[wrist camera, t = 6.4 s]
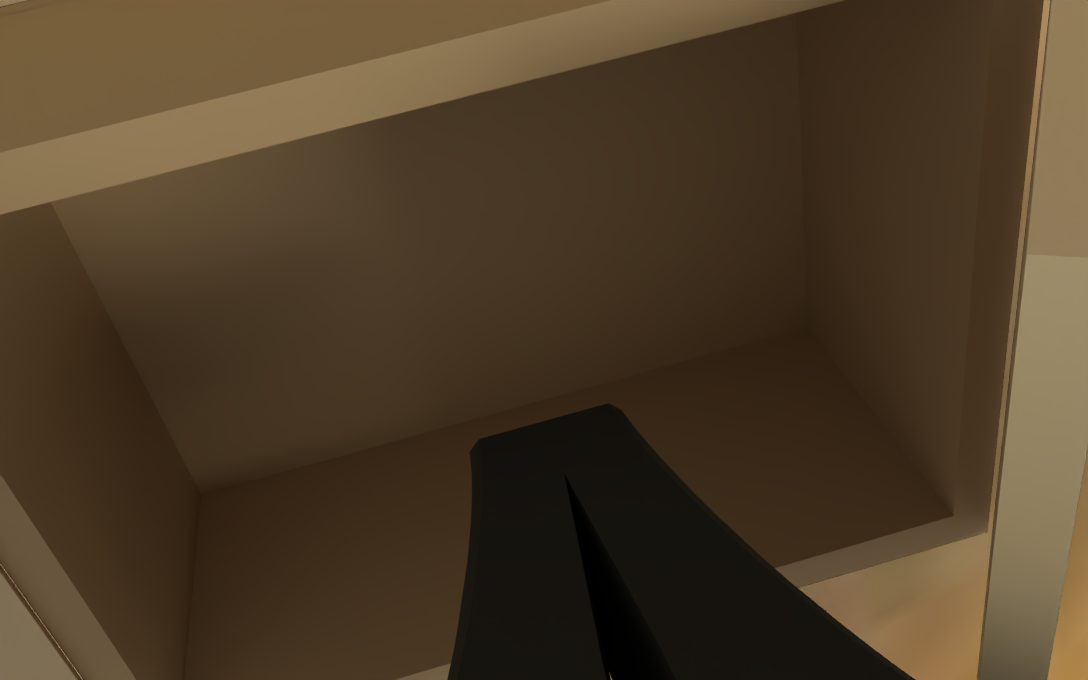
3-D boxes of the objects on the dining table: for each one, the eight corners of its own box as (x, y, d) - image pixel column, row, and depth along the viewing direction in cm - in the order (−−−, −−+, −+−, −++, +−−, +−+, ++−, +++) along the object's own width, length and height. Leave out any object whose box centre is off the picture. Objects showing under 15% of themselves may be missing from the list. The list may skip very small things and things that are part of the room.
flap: (1059, -90, 9) (1113, -93, 9) (992, 529, 13) (1026, 534, 13) (1026, 255, 5) (1120, 258, 5) (946, 965, 9) (994, 981, 9)
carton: (811, -187, 13) (1055, -112, 9) (823, 327, 18) (987, 532, 14) (-72, 24, 12) (-248, 213, 8) (184, 504, 17) (153, 777, 13)
